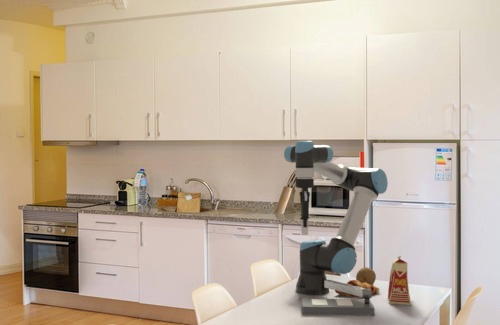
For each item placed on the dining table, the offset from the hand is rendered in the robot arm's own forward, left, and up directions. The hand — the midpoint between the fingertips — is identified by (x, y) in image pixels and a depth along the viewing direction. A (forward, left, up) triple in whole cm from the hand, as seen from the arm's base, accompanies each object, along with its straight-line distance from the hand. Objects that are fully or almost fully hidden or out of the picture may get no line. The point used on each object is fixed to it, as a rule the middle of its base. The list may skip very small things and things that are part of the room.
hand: (304, 234), depth 233 cm
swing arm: (-1, +18, -24) cm, 30 cm away
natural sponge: (-29, +30, -30) cm, 51 cm away
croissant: (-19, +25, -30) cm, 43 cm away
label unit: (+7, +13, -30) cm, 33 cm away
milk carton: (-8, +41, -30) cm, 51 cm away
